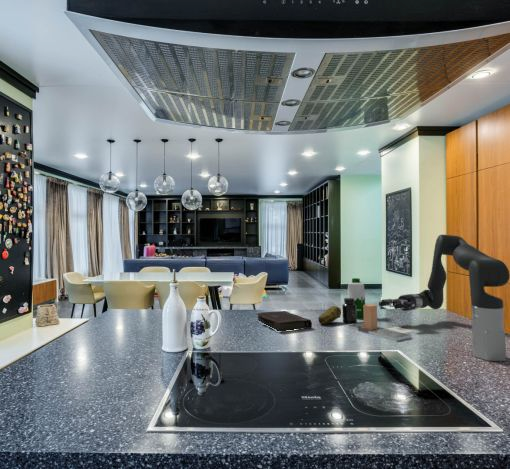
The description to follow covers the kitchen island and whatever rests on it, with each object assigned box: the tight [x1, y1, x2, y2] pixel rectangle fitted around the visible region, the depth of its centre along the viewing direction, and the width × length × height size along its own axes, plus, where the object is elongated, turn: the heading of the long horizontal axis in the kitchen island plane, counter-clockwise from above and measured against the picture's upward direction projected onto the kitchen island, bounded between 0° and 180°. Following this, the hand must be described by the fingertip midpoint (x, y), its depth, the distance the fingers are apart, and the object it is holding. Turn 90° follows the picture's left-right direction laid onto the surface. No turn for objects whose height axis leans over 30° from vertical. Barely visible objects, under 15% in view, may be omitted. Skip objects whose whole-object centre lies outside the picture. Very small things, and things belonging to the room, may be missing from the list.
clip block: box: [363, 303, 378, 330], centre depth 156 cm, size 4×4×12 cm
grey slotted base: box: [347, 322, 412, 342], centre depth 152 cm, size 26×9×2 cm, turn 30°
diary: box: [255, 310, 313, 331], centre depth 173 cm, size 19×25×5 cm
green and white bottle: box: [347, 277, 366, 319], centre depth 188 cm, size 9×9×20 cm
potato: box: [318, 306, 342, 325], centre depth 174 cm, size 8×13×8 cm, turn 104°
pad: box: [387, 326, 414, 334], centre depth 156 cm, size 9×9×1 cm
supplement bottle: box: [341, 297, 358, 325], centre depth 175 cm, size 7×7×12 cm
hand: (387, 305), depth 161 cm, fingers open, 8 cm apart
